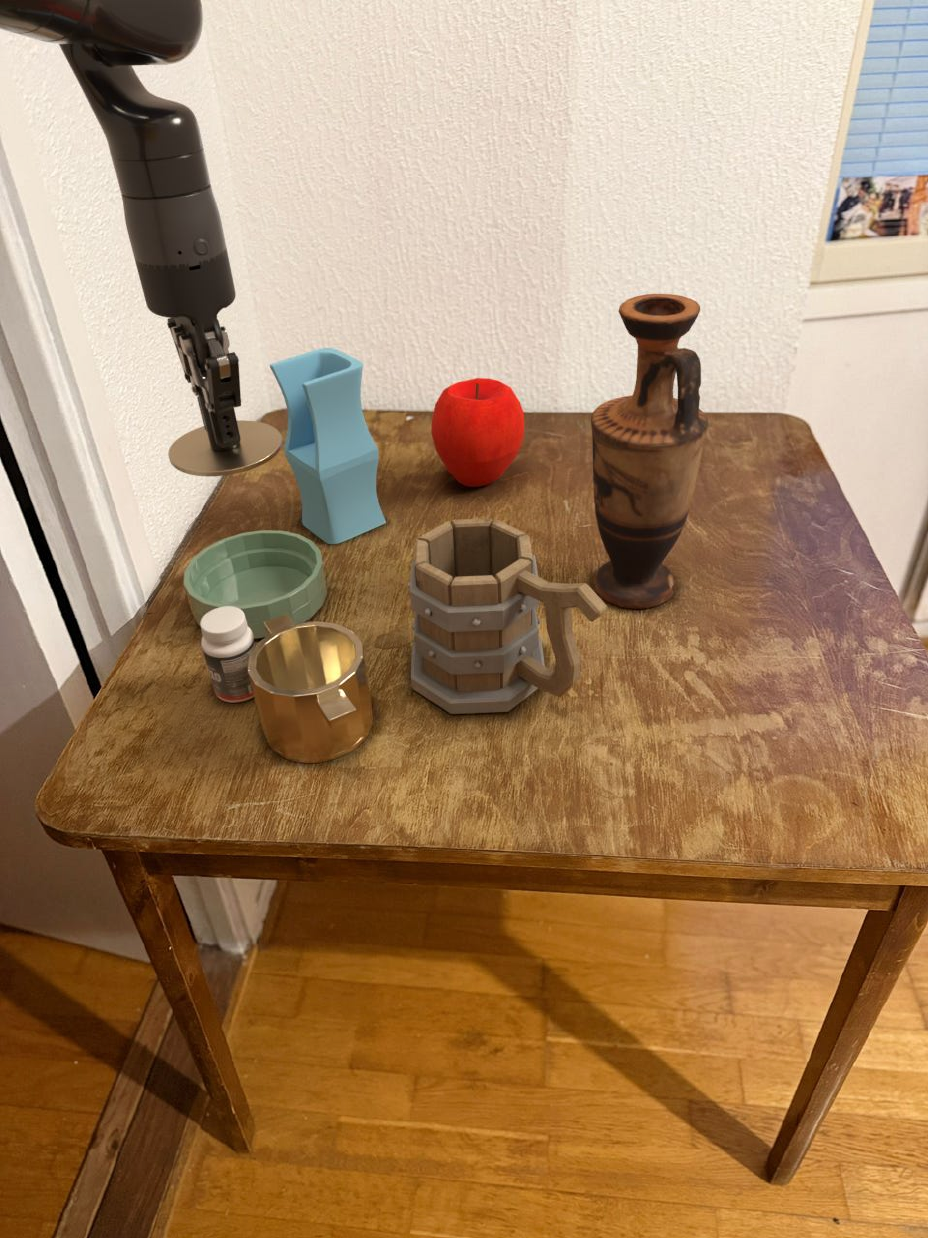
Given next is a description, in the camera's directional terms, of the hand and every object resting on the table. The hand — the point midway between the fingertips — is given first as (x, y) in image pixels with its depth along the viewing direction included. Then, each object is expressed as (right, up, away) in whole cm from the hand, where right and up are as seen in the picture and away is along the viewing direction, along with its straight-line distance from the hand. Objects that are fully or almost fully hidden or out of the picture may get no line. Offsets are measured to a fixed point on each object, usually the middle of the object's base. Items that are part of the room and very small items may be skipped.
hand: (223, 437), depth 84 cm
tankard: (+27, -24, 0) cm, 36 cm away
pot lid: (0, -1, +1) cm, 1 cm away
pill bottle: (+1, -24, +1) cm, 24 cm away
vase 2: (+41, -14, +11) cm, 45 cm away
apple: (+25, 0, +31) cm, 39 cm away
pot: (+10, -27, -3) cm, 29 cm away
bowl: (+1, -15, +12) cm, 20 cm away
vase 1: (+8, -6, +24) cm, 26 cm away
